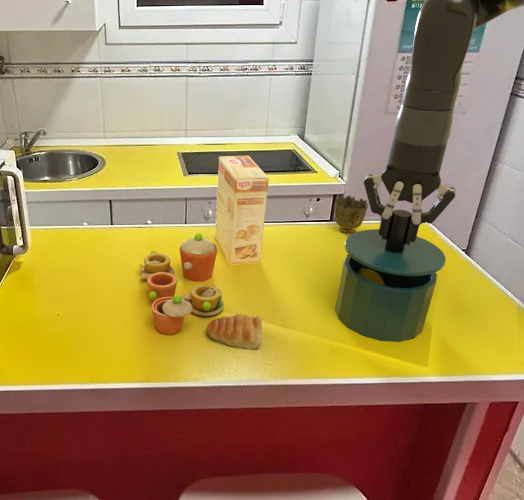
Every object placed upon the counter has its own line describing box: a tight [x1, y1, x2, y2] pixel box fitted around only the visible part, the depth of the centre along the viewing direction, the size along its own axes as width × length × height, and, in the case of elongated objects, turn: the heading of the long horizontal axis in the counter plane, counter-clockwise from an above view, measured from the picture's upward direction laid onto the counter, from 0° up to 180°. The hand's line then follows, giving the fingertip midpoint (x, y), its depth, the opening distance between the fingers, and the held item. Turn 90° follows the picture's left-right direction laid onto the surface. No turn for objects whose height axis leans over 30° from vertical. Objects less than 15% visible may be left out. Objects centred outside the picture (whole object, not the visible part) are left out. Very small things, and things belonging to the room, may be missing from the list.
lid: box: [344, 209, 446, 276], centre depth 85 cm, size 16×16×8 cm
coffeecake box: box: [214, 155, 270, 266], centre depth 111 cm, size 15×7×20 cm, turn 8°
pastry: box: [206, 313, 263, 350], centre depth 87 cm, size 9×7×4 cm
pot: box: [334, 253, 438, 343], centre depth 90 cm, size 15×15×10 cm
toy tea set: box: [138, 232, 225, 335], centre depth 96 cm, size 26×16×10 cm, turn 7°
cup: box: [334, 195, 369, 235], centre depth 122 cm, size 8×7×8 cm
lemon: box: [357, 268, 385, 286], centre depth 93 cm, size 6×6×8 cm
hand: (396, 239), depth 85 cm, fingers closed on lid, 3 cm apart
